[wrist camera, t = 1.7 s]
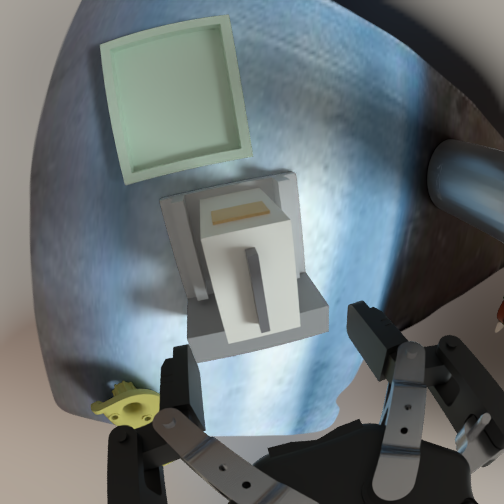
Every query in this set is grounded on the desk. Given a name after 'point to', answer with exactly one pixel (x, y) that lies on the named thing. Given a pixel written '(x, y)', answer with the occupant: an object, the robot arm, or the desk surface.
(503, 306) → the motor
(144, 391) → the plastic component
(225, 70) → the tray
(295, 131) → the desk surface
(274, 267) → the labeled white box
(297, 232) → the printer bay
